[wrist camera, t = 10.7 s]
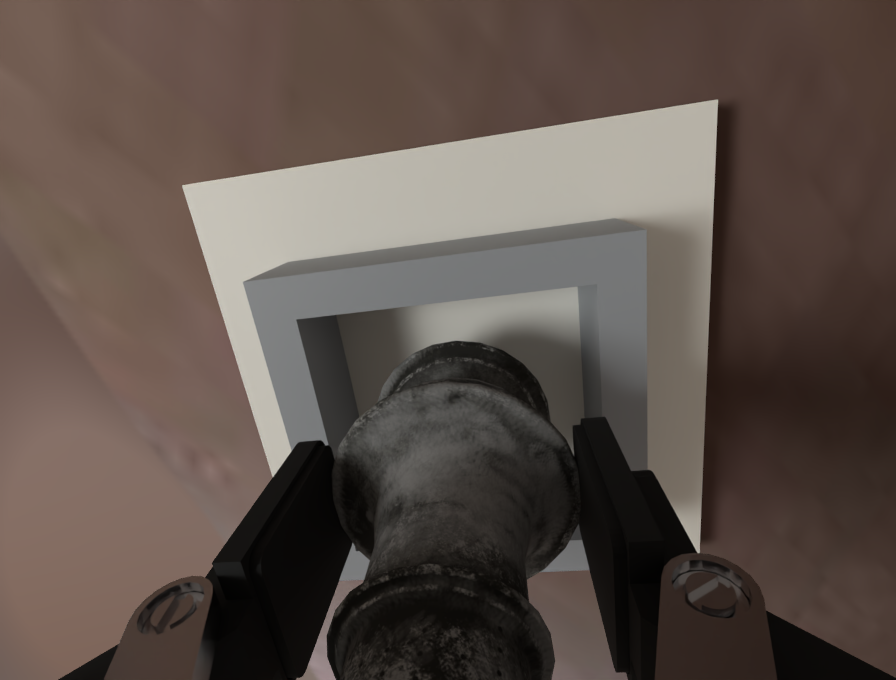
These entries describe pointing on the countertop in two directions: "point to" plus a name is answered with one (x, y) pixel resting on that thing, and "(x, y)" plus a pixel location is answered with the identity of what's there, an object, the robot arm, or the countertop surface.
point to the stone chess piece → (452, 521)
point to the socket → (483, 282)
